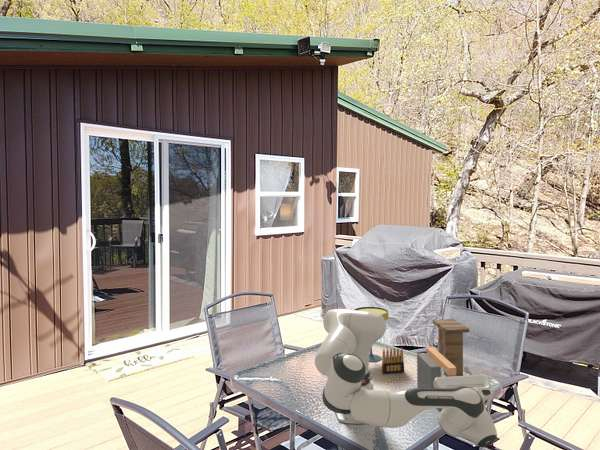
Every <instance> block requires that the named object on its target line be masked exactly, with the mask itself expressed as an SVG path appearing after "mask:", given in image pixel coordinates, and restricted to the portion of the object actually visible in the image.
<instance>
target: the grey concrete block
mask: <svg viewBox="0 0 600 450" xmlns="http://www.w3.org/2000/svg"><path fill="white" fill-rule="evenodd" d="M440 354H441V353H440ZM416 357H417V358H416V363H417V364H416V367H417V370H416V371H417V372H416V373H417V374H416V375H417V377H416V378H417V383H416V384H417V385H416V386H417V387H416V388H434V386H433V382H434V379H435V378H436V377H441V375H442V374H441V372H440V370H441V368H440V367H439V366H438V365H437V364H436V363H435V362H434V361H433V360H432V359H431V358H430V357H429V356H428V355H427V352H423V353H417V354H416ZM448 361H449V360H448ZM449 362H450V361H449ZM444 375H445V376H446V377H452V376H448V375H447V374H444ZM454 376H455V375H454Z"/></svg>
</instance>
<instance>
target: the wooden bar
mask: <svg viewBox="0 0 600 450" xmlns="http://www.w3.org/2000/svg"><path fill="white" fill-rule="evenodd" d="M426 353H427V355H428V356H429V357H430V358H431V359H432V360H433V361H434V362H435V363H436V364H437V365H438V366H439V367H440V368H445V370H446V374H447V375H448V376H454V375H456V367H455V366H454V365H453V364H452V363H451V362H449V361H448V360H447V359H446V358H445V357H444V356H443V355H442V354H440V353H439V352H438V350H437V349H436V348H435V347H434V346H433V347H431V346H430V347H426Z"/></svg>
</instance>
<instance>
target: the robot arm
mask: <svg viewBox="0 0 600 450" xmlns="http://www.w3.org/2000/svg"><path fill="white" fill-rule="evenodd" d="M322 322H323V324H322V325H323V328H324V329H325V332H326V333H327V334H328V335H327V336H326V337H325V339H324V340H323V341H322V343H321V344H320V346H319V348H318V350H317V351H316V354H315V357H314V365H315V368H316V370H317V371H318V372H319V373H320V374H321V375H323V376H326V378H327V380H326V382H325V386H324V388H323V390H322V402H323V405H324V406H325V408H327V409H328V410H329V411H331V412H334V413H335V416H336V418H337V421H338V422H340V423H345V424H351V425H352V424H353V425H354V424H355V425H361V424H362V425H363V424H367V425H371V426H374V427H379V428H380V427H381V428H387V429H395V428H401V427H404V426H406V425H407V424H409V422H411V421H412V420H413V419H414V418H416V416H418V415H419V414H422V412H424V411H426V410H430V409H441V411H440V412H439V414H438V416H437V422H438V425H439V426H440V428H441V430H442V431H443V432H444V433H445V434H447V436H450V437H453V438H462V439H465V440H468V441H469V442H471V443H473V444H474V445H475V446H476V447H478V448H485V447H486V448H487V447H488V446H490V445H492V444H493V443H494V442H495V440H496V439H497V437H498V431H497V429H496V425H495V423H494V421H493V419H492V416H491V414H490V413H489V412H488V410H487V408H486V407H487V406H489V405H490V404H491V402H492V400H493V397H494V396H495V392H494V391H493V390H492V384H491V381H490V380H489V377H488V376H487V375H485V374H477V373H476V372H474V371H473V370H472V369H471V368H470V366H465V367H463V371H464V372H465V374H468V375H463V376H452V377H446V376H445V375H444V374H446V370H445V368H441V370H440V372H441V374H442V375H441V377H436V378H435V379H434V382H433V386H434V388H418V387H416V388H414V387H413V388H409V389H404V390H398V391H390V390H388V391H387V390H381V389H374V388H375V387H374V384H373V383H372V382H371V372H370V370H369V369H370V368H369V367H370V365H369V364H370V362H369V354H370V350H371V347H372V348H373V345H374V344H375V343H377V341H379V340H380V339H382V338H383V336H384V335H385V333H386V330H387V322H386V321H385V319H384V318H383V316H382V315H380V314H377V313H374V312H370V311H360V310H355V309H346V308H333V309H329V310H327V312H326V313H325V314H324V316H323V320H322Z"/></svg>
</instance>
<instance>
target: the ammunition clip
mask: <svg viewBox="0 0 600 450" xmlns="http://www.w3.org/2000/svg"><path fill="white" fill-rule="evenodd" d="M396 349H397V350H396ZM403 351H404V350H403V347H400V348H399V347H397V348H395V347H394V348H393V349H392V348H390V350H389V348H386V350H385V348H383V349H382V356H381V357H382V359H381V360H382V362H381V374H382V375H390V374H400V373H402V374H403V373H405V362H404V352H403Z"/></svg>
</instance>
